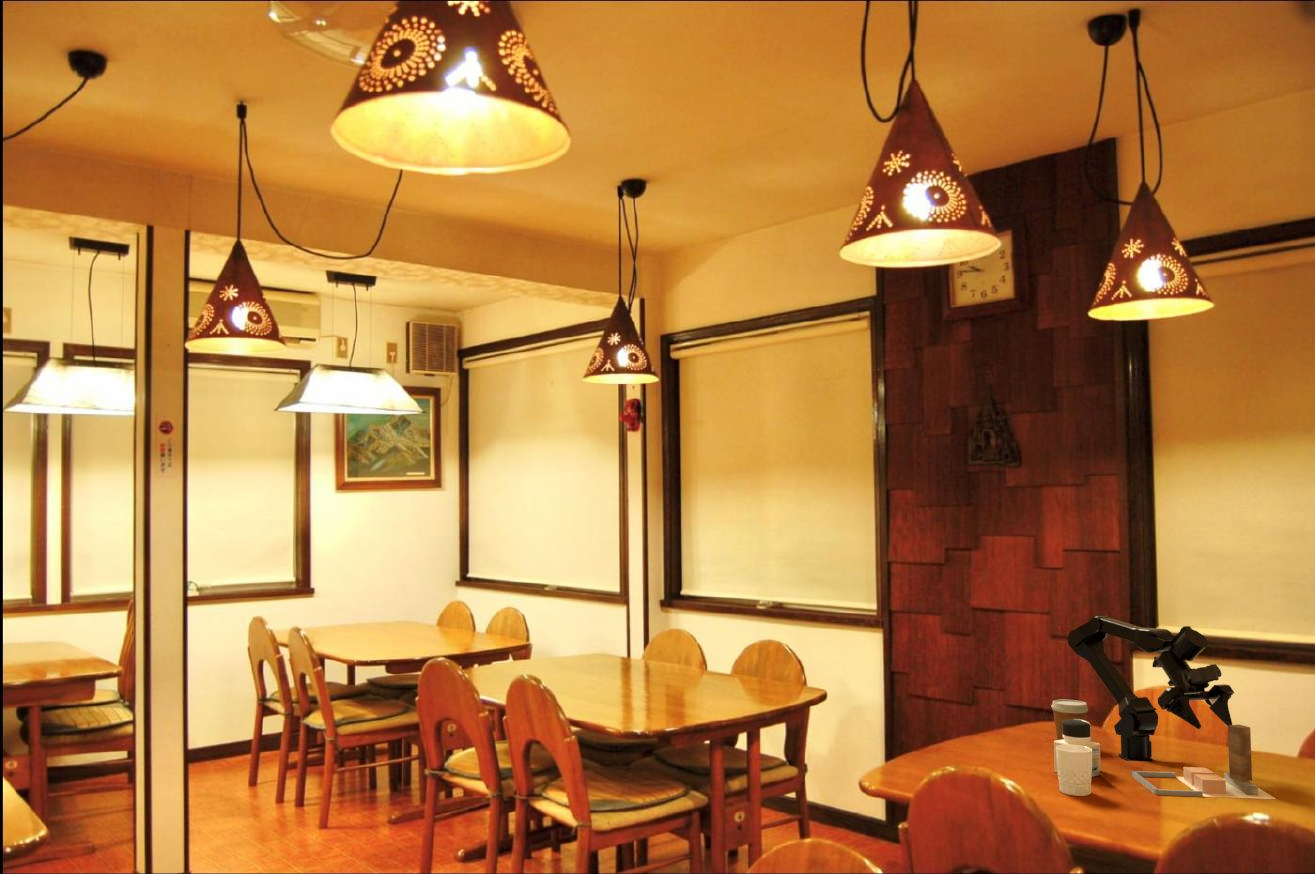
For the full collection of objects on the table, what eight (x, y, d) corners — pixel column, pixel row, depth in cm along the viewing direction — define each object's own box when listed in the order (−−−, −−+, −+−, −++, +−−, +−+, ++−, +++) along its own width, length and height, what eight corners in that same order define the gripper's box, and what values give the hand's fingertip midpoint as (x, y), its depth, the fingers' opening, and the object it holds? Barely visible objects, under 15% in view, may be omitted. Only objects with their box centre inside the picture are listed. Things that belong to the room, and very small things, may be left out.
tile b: (1205, 780, 246) (1205, 767, 246) (1214, 786, 241) (1214, 772, 241) (1183, 779, 246) (1183, 766, 247) (1191, 785, 241) (1191, 772, 242)
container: (1079, 779, 251) (1078, 724, 252) (1053, 771, 258) (1052, 718, 259) (1101, 775, 255) (1100, 721, 255) (1075, 768, 261) (1074, 715, 262)
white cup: (1050, 787, 243) (1049, 744, 244) (1082, 787, 244) (1082, 743, 245) (1066, 797, 236) (1065, 752, 236) (1100, 796, 236) (1098, 751, 237)
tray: (1174, 781, 249) (1174, 772, 249) (1202, 801, 232) (1202, 791, 232) (1131, 779, 250) (1131, 770, 251) (1155, 799, 234) (1155, 789, 234)
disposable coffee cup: (1073, 752, 278) (1072, 706, 279) (1044, 744, 286) (1043, 700, 287) (1096, 748, 283) (1095, 703, 284) (1067, 741, 291) (1066, 697, 292)
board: (1243, 783, 247) (1243, 778, 247) (1276, 804, 230) (1276, 798, 230) (1174, 781, 249) (1174, 776, 249) (1202, 801, 232) (1202, 796, 232)
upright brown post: (1239, 781, 245) (1237, 721, 246) (1262, 795, 233) (1260, 732, 234) (1220, 780, 246) (1218, 720, 246) (1242, 794, 234) (1240, 731, 235)
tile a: (1217, 787, 239) (1216, 774, 239) (1226, 793, 234) (1225, 780, 234) (1194, 787, 240) (1193, 773, 240) (1202, 793, 235) (1202, 779, 235)
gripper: (1165, 654, 251) (1202, 709, 240) (1227, 651, 257) (1266, 705, 246) (1142, 681, 258) (1176, 736, 247) (1202, 677, 264) (1239, 731, 253)
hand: (1215, 726), depth 248 cm, fingers open, 9 cm apart
